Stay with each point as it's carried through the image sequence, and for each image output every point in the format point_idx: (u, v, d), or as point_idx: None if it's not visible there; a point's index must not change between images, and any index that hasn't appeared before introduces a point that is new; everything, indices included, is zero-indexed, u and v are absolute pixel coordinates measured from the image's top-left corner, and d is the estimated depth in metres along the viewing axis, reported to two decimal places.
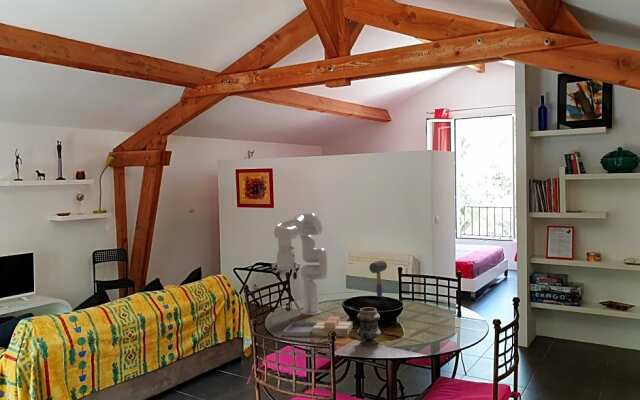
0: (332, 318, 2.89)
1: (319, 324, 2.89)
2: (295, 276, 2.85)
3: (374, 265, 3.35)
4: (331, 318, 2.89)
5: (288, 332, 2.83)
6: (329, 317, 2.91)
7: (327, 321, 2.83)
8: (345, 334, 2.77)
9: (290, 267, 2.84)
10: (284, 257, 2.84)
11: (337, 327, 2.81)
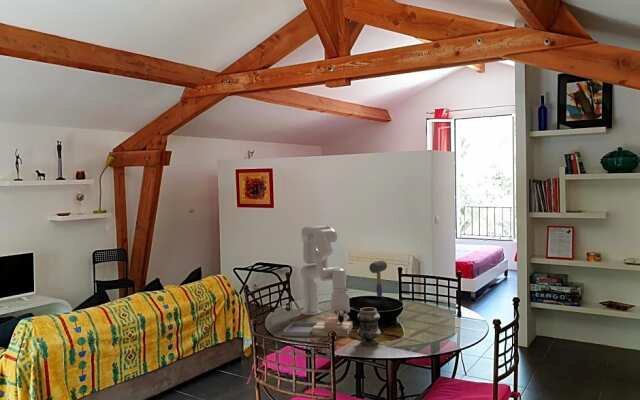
0: (331, 318, 2.89)
1: (319, 324, 2.89)
2: (342, 319, 2.88)
3: (374, 265, 3.35)
4: (330, 318, 2.89)
5: (288, 332, 2.83)
6: (328, 317, 2.91)
7: (327, 321, 2.83)
8: (345, 334, 2.77)
9: (345, 309, 2.86)
10: (339, 299, 2.86)
11: (337, 327, 2.81)
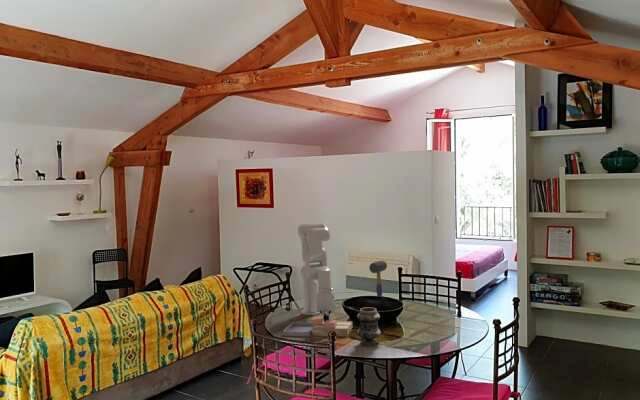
0: (316, 318, 2.91)
1: None
2: (327, 319, 2.90)
3: (374, 265, 3.35)
4: (315, 318, 2.91)
5: (288, 332, 2.83)
6: (313, 317, 2.93)
7: (327, 321, 2.83)
8: (345, 334, 2.77)
9: (330, 308, 2.88)
10: (324, 298, 2.88)
11: (337, 327, 2.81)
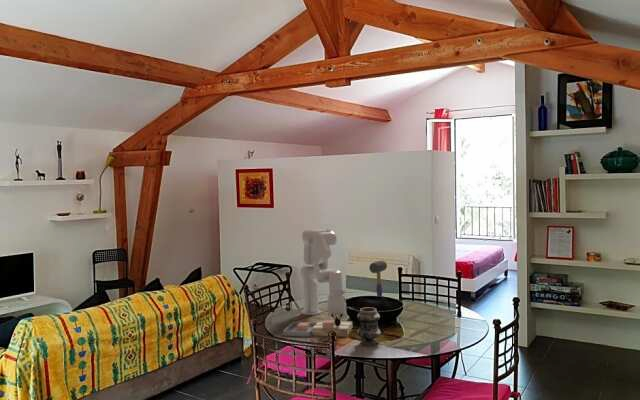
0: None
1: (319, 324, 2.89)
2: (339, 323, 2.81)
3: (374, 265, 3.35)
4: None
5: (288, 332, 2.83)
6: (308, 328, 2.94)
7: (325, 321, 2.83)
8: (345, 334, 2.77)
9: (341, 312, 2.79)
10: (335, 301, 2.79)
11: (337, 327, 2.81)
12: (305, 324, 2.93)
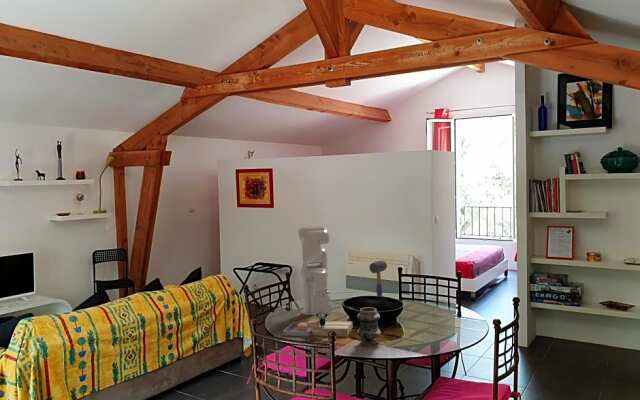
0: None
1: None
2: (324, 323, 2.83)
3: (374, 265, 3.35)
4: None
5: (288, 332, 2.83)
6: (308, 328, 2.94)
7: (310, 321, 2.86)
8: (345, 334, 2.77)
9: (326, 312, 2.81)
10: (320, 301, 2.81)
11: (337, 327, 2.81)
12: (305, 324, 2.93)
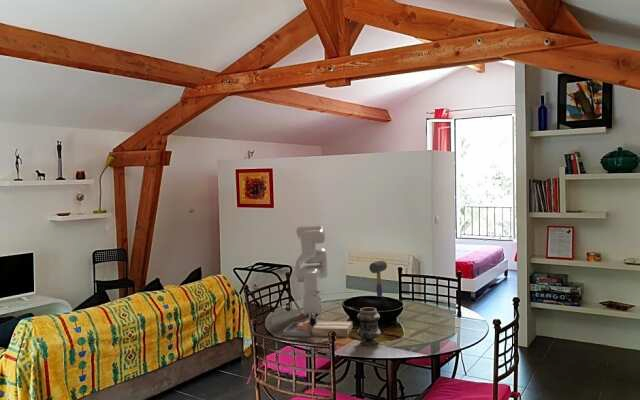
0: None
1: (319, 324, 2.89)
2: (314, 322, 2.85)
3: (374, 265, 3.35)
4: None
5: (288, 332, 2.83)
6: None
7: None
8: (345, 334, 2.77)
9: (316, 311, 2.83)
10: (310, 301, 2.83)
11: (337, 327, 2.81)
12: None
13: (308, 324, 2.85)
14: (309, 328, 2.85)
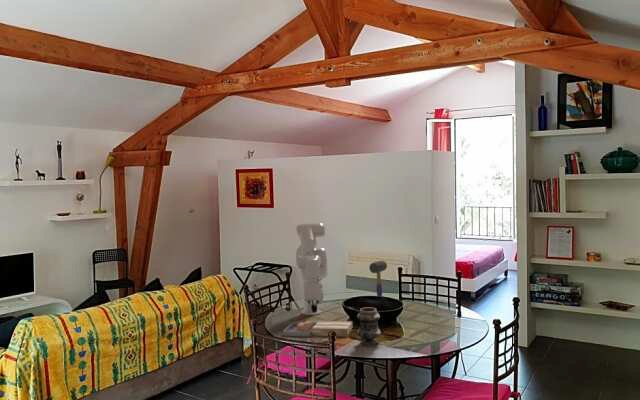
0: None
1: (319, 324, 2.89)
2: (315, 309, 2.85)
3: (374, 265, 3.35)
4: None
5: (288, 332, 2.83)
6: None
7: None
8: (345, 334, 2.77)
9: (318, 298, 2.83)
10: (312, 288, 2.83)
11: (337, 327, 2.81)
12: None
13: (309, 324, 2.84)
14: (309, 328, 2.85)
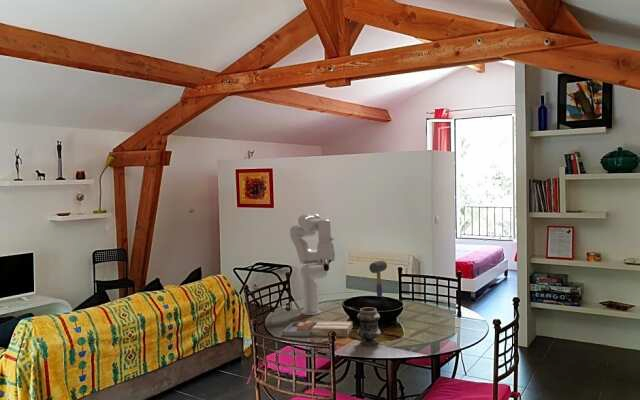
0: None
1: (319, 324, 2.89)
2: (327, 268, 3.02)
3: (374, 265, 3.35)
4: None
5: (288, 332, 2.83)
6: None
7: None
8: (345, 334, 2.77)
9: (330, 257, 2.99)
10: (324, 248, 3.00)
11: (337, 327, 2.81)
12: None
13: (309, 324, 2.84)
14: (309, 328, 2.85)
